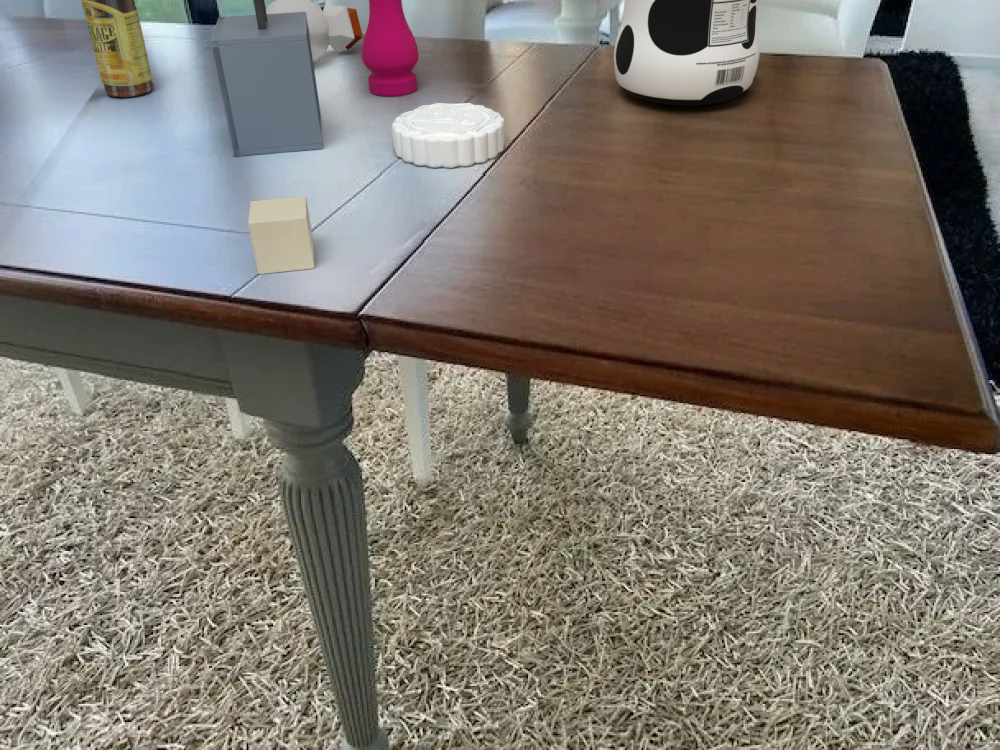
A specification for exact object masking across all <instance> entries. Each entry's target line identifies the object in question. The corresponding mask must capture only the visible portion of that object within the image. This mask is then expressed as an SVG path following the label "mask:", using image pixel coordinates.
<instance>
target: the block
mask: <svg viewBox="0 0 1000 750" xmlns="http://www.w3.org/2000/svg"><path fill="white" fill-rule="evenodd" d="M308 205H309V204H308V199H307V195H303V196H291V197H281V198H270V199H260V200H251V201H250V204H249V213H248V221H247V226H248V230H249V235H250V240H251V244H252V245H251V246H252V250H253V256H254V260H255V264H256V269H257V274H258V275H265V274H266V275H267V274H274V273H275V274H276V273H285V272H292V271H293V272H294V271H303V270H304V271H305V270H311V269H315V267H316V266H315V242H314V237H313V230H312V225H311V218H310V212H309V206H308Z"/></svg>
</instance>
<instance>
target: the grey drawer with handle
mask: <svg viewBox="0 0 1000 750" xmlns="http://www.w3.org/2000/svg"><path fill="white" fill-rule="evenodd" d="M253 6H254V7H253V8H254V11H255V14H247V15H231V16H219V17H218V18H217V21H216V24H215V27H214V29H213V32H212V34H211V37H210V40H209V42H210V46H211V51H212V57H213V60H214V62H213V63H214V66H215V71H216V76H217V80H218V86H219V90H220V95H221V100H222V105H223V110H224V115H225V120H226V125H227V130H228V134H229V138H230V143H231V149H232V154H233V157H245V156H256V155H268V154H279V153H291V152H301V151H313V150H323V149H324V142H323V125H322V114H321V108H320V100H319V95H318V94H319V93H318V86H317V85H318V84H317V79H316V78H317V77H316V71H315V65H314V64H315V63H313V57H312V50H311V43H310V36H309V29H308V22H307V15H306V12H293V13H277V14H267V13H266V10H267V7H266V2H265V0H253Z"/></svg>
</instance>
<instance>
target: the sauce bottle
mask: <svg viewBox="0 0 1000 750" xmlns="http://www.w3.org/2000/svg"><path fill="white" fill-rule="evenodd" d="M80 2H81V6H82V9H83V14H84V17H85V21H86V25H87V29H88V34H89V37H90V41H91V46H92V49H93V52H94V56H95V61H96V64H97V68H98V72H99V76H100V80H101V82H102V83H103V87H104V90H105V92H106V94H107V95H108V96H111V97H113V98H115V97H116V98H117V97H118V98H125V99H129V98H133V97H139V96H142V95H145V94H148V93H150V92H151V91H152V90H153V89H154V82H153V81H152V78H153V76H152V75H153V74H152V71H151V65H150V62H149V57H148V52H147V49H146V44H145V38H144V33H143V30H142V26H141V21H140V16H139V12H138V7H137V6H136V1H135V0H80Z"/></svg>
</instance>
